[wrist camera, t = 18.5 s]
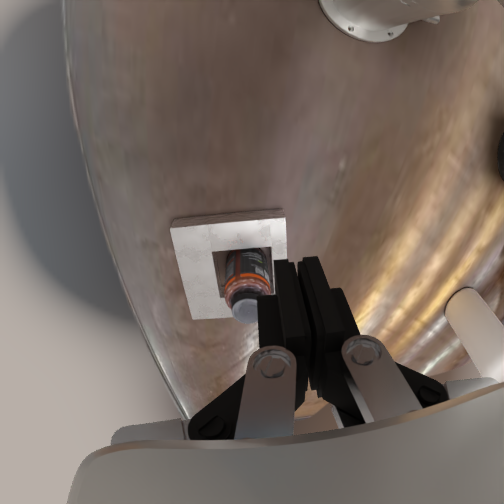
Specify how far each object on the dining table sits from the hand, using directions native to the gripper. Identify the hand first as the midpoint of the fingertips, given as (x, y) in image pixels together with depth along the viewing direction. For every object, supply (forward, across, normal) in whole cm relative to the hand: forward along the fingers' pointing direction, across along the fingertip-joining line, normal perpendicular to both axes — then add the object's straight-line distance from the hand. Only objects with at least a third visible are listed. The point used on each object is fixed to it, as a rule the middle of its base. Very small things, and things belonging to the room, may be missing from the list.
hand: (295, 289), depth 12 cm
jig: (+29, +5, +17) cm, 34 cm away
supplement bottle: (+29, +3, +17) cm, 34 cm away
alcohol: (+29, -40, +32) cm, 59 cm away
